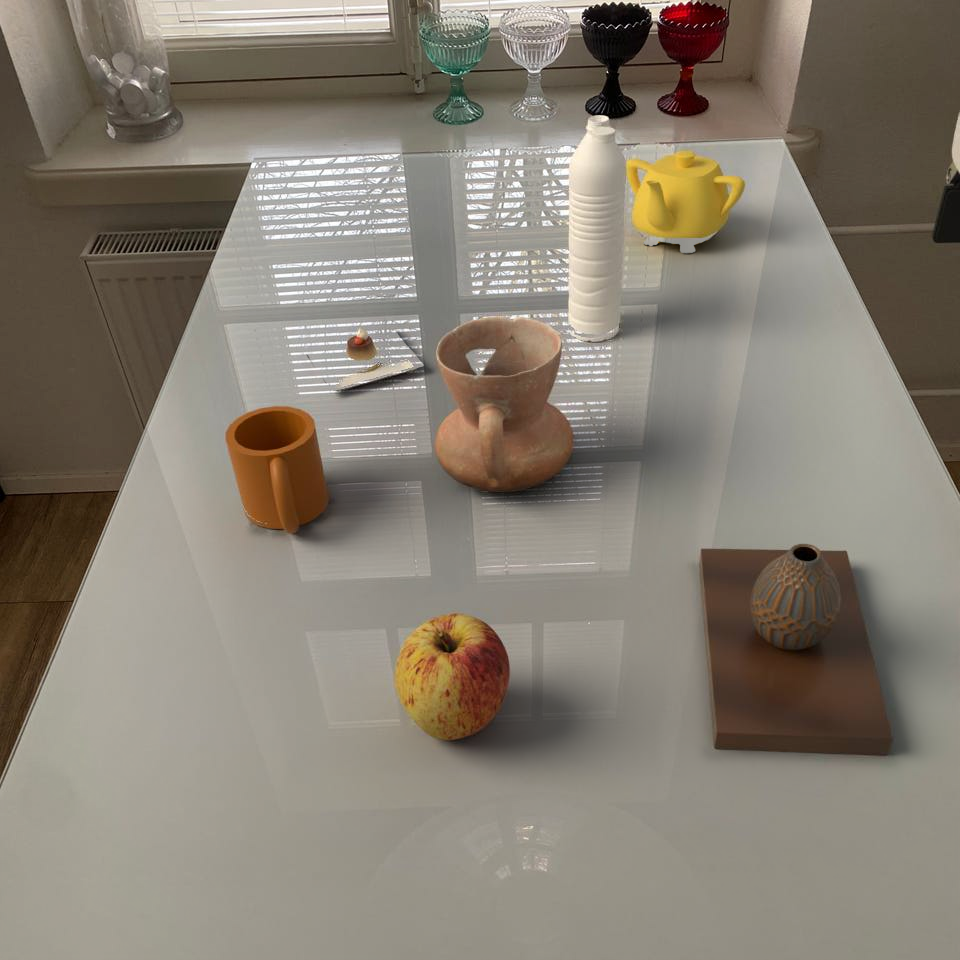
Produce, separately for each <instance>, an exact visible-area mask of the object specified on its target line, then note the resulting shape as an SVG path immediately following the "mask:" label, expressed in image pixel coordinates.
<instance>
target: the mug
mask: <svg viewBox="0 0 960 960" xmlns="http://www.w3.org/2000/svg"><path fill="white" fill-rule="evenodd" d="M225 444H226V448H227V451H228V454H229V458H230V462H231V466H232V471H233V473H234V474H233V475H234V477H235V480H236V481H235V482H236V484H237V485H236V486H237V489H238V493H239V496H240V500H241V504H242V507H243V506H244V508H245V510H246V511H247V513H248V515H250V516H251V517H252V518H254V519H255V520H254V519H252V518H251V517H249V516H248V515H247V513H246V512H245V510H244V508H243V511H244V514H245V516H246V518H248V520H249V521H250V522H252V523H253V524H255V525H257V526H259V527H262V528H265V529H270V530H271V529H273V530H275V529H276V530H284V531H285V533H288V534H295V533H297V532H298V530H299V528H300V527H301V526H302V525H305V524H307V523H310V522H312V521H313V520H315V519H316V518H318V517H319V516H321V514H322V513H323V512H324V511H325V510H326V509H327V506H328V504H329V500H330V499H329V493H328V488H327V481H326V477H325V472H324V466H323V461H322V454H321V449H320V445H319V440H318V433H317V429H316V423H315V419H314V418H313V417H312V416H311V415H310V413H308V412H307V411H305V410H302V409H301V408H297V407H292V406H288V405H287V406H286V405H284V406H283V405H273V406H266V407H261V408H256V409H254V410H250V411H248V412H245V413H244V414H242V415H241V416H239V417H237V418H236V419H234V421H232V422H231V423H230V424H229V426H228V428H227V429H226V430H225ZM256 520H257V521H260V522H257V521H256ZM261 522H262V523H261ZM265 523H267V524H265Z"/></svg>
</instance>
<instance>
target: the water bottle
mask: <svg viewBox="0 0 960 960" xmlns="http://www.w3.org/2000/svg"><path fill="white" fill-rule="evenodd" d="M585 129H586V133H585V135H584V136H583V138H582V139H581V141H580V142H579V144H578V146H577V148H576V149H575V151H574V152H573V154H572V155H571V158H570V161H569V164H568V186H569V188H568V250H569V251H568V277H569V278H568V285H567V286H568V314H567V315H568V316H567V317H568V319H567V322H568V321H569V324H570V325H571V327H573V328H574V329H575V330H577V331H579V332H582V333H585V334H596V335H599V334H603V333H607V332H610V331H611V330H613V329H615V328H616V327H617V326H618V325H619V323H620V324H621V306H622V296H621V295H622V288H623V287H622V279H623V267H622V266H623V258H624V252H623V249H624V238H625V237H624V232H625V231H624V228H625V205H626V201H625V199H626V182H627V175H626V163H627V161H626V157H625V155H624V152H623V151H622V149H621V148H620V146H619V144H618V143H617V140H616V129H615V128H613V127H612V125H611V124H610V118H609V116H606V115H602V114H601V115H597V114H596V115H591V116H589V118H588V120H587V125H586V126H585ZM567 329H568V333H569V334H570V335H571V336H572V337H573V338H576V339H577V340H579V341H582V342H592V343H596V342H599V343H600V342H603V341H604V340H605V341H607V340H610V339H612V338H614V337H615V336H616V335H617V334H618V333H619V332H620V329H621V327H620V328H619V329H618V331H616V332H615V333H613V334H611V335H609V336H606V337H600V338H586V337H581V336H578V335H575V334H574V333H572V332H571V331H570V330H569V328H567Z"/></svg>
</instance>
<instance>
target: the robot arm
mask: <svg viewBox="0 0 960 960" xmlns="http://www.w3.org/2000/svg"><path fill="white" fill-rule="evenodd" d="M951 157H952V162H951V164H950V165H949V166H948V168H947V172H946V177H945V181H946V184H947V185H944V187H943V190H942V195H941V197H940V198H941V199H940V203H939V207H938V210H937V215H936V218H935V221H934V226H933V229H932V232H931V239H932V241H933V243H936V244H958V243H959V244H960V111H959V112H958V116H957V121H956V125H955V130H954V135H953V140H952V145H951Z"/></svg>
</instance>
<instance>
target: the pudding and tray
mask: <svg viewBox="0 0 960 960" xmlns="http://www.w3.org/2000/svg"><path fill="white" fill-rule="evenodd" d="M367 331H368V330H366V329H364V328H362V327H361V328H360V327H358V330H357V332H356V334H357V335H355V336H353V337H351V338H349V339H348V341H347V348H346V354H347V355H348V357H350V358H351V359H354V360H358V361H361V360H369V359H372V358H374V357H375V355H377V349H376V346H375V344H374V342H373V340H372V338H371V337H370V336H368V332H367ZM405 360H407V359H405ZM400 361H404V360H400ZM378 363H379V362H378ZM384 363H385V362H384ZM395 363H396V362H395ZM381 364H383V363H380V365H379V364H376V365H374V366H372V367H369V368H368V369H364V370H367V371H364V372H362V371H360V372H357V373H360V374H357V373H353V375H349V376H346V378H343V381H342V380H339V384H336V387H337V388H340V387H344V386H348V385H351V384H355V383H358V382H362V381H365V380H369V379H373V378H376V377H380V376H383V375H387V374H391V373H394V372H398V371H401V370H405V369H408V368H412V367H414V366H413V365H412V364H411V363H410V361H409V360H408V362H407V361H404V362H403V363H402V362H399V364H395V365H394V367H393V366H392V365H391V366H389V365H390V364H388V363H387V365H385V364H383V365H381ZM391 364H392V363H391ZM402 364H403V365H402ZM378 365H379V366H378ZM396 365H398V366H396ZM370 368H371V369H370ZM415 370H416V369H414V370H411V371H407V372H404V373H400V374H396V375H393V376H389V377H386V378H382V379H379V380H375V381H372V382H368V383H364V384H361V385H357V386H354V387H350V388H347V389H343V390H339V391H338V392H342V391H345V390H349V389H353V388H356V387H359V386H360V387H361V386H363V385H367V384H371V383H374V382H377V381H381V380H385V379H388V378H391V377H395V376H399V375H402V374H407V373H410V372H412V371H415ZM355 374H356V375H355ZM346 375H348V374H346ZM343 377H344V376H343ZM348 377H349V378H348ZM340 381H341V382H340ZM337 383H338V382H337Z"/></svg>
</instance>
